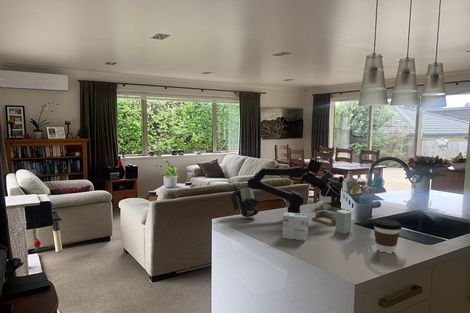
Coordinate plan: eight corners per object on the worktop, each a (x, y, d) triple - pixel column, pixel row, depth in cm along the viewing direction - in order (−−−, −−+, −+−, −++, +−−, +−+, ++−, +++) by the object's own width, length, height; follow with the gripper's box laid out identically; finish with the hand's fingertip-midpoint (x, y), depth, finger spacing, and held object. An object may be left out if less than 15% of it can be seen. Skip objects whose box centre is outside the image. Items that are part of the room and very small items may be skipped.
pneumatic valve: (333, 211, 202) (334, 191, 201) (316, 208, 209) (316, 189, 208) (337, 209, 206) (338, 190, 205) (319, 206, 213) (320, 188, 212)
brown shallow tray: (330, 225, 171) (330, 217, 171) (312, 219, 182) (312, 212, 181) (342, 222, 177) (343, 214, 177) (324, 217, 187) (324, 209, 187)
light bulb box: (307, 236, 153) (308, 213, 152) (305, 241, 147) (306, 217, 146) (284, 234, 157) (285, 211, 156) (281, 238, 150) (282, 215, 149)
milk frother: (251, 218, 187) (245, 195, 195) (270, 205, 178) (263, 182, 186) (231, 214, 178) (227, 191, 187) (251, 201, 170) (245, 176, 178)
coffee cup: (386, 257, 129) (388, 227, 128) (365, 248, 139) (366, 220, 138) (406, 253, 134) (408, 224, 133) (384, 244, 144) (386, 217, 143)
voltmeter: (359, 206, 215) (360, 175, 214) (341, 209, 207) (342, 177, 205) (340, 201, 229) (341, 172, 228) (322, 203, 221) (323, 174, 219)
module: (343, 234, 158) (344, 213, 157) (335, 231, 162) (336, 211, 161) (350, 232, 161) (351, 211, 160) (342, 229, 165) (342, 209, 164)
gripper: (319, 171, 170) (348, 185, 167) (321, 164, 188) (347, 177, 185) (309, 189, 173) (337, 204, 170) (312, 181, 191) (337, 194, 188)
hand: (339, 194), depth 178 cm, fingers open, 9 cm apart
